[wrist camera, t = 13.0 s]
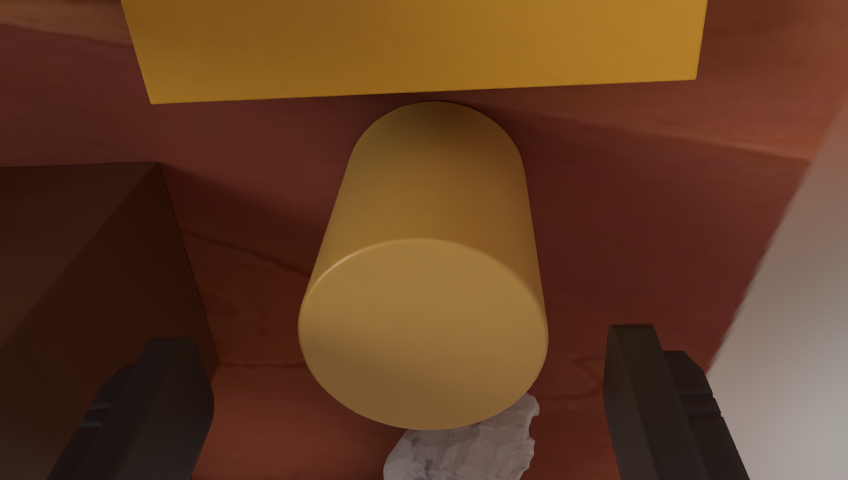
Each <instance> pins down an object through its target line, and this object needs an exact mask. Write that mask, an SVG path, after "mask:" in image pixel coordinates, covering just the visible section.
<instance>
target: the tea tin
mask: <svg viewBox="0 0 848 480" xmlns="http://www.w3.org/2000/svg"><path fill="white" fill-rule="evenodd" d="M298 337H299V344H300V347H301V351H302V354H303V357H304V360H305V362H306V364H307V366H308V368H309V370H310V371H311V373H312V374H313V376H314V377H315V379H316V380H317V382H318V383H319V384H320V385H321V386H322V387H323V388H324V389H325V391H327V392H328V393H329V394H330V395H331V396H332V397H333V398H334V399H336V400H337V401H338V402H340V403H341V404H343V405H344V406H346V407H347V408H349V409H351V410H352V411H354V412H356V413H358V414H360V415H362V416H364V417H367V418H369V419H371V420H374V421H377V422H380V423H383V424H387V425H391V426H395V427H400V428H407V429H415V430H443V429H451V428H458V427H462V426H467V425H471V424H474V423H477V422H480V421H483V420H486V419H488V418H490V417H492V416H494V415H496V414H498V413H500V412H502V411H503V410H505V409H506V408H508V407H510V406H511V405H512V404H514V403H515V402H516V401H517V400H518V399H520V398H521V397H522V396H523V395H524V394H525V393H526V392H527V390H528V389H529V388H530V387H531V386H532V384H533V383H534V381H535V380H536V378H537V377H538V375H539V373H540V371H541V369H542V367H543V364H544V361H545V358H546V354H547V349H548V341H549V340H548V325H547V318H546V312H545V305H544V298H543V291H542V285H541V278H540V271H539V264H538V257H537V251H536V244H535V237H534V230H533V224H532V217H531V210H530V203H529V197H528V190H527V183H526V176H525V171H524V166H523V162H522V159H521V156H520V154H519V151H518V149H517V148H516V146H515V144H514V142H513V141H512V139H511V138H510V137H509V135H508V134H507V133H506V132H505V131H504V130H503V129H502V128H501V127H500V126H499V125H498V124H497V123H495V122H494V121H493V120H492V119H490V118H489V117H487V116H485V115H484V114H482V113H480V112H478V111H476V110H474V109H471V108H469V107H466V106H463V105H459V104H455V103H449V102H436V101H429V102H420V103H414V104H410V105H406V106H403V107H400V108H398V109H395V110H393V111H391V112H389V113H387V114H385V115H384V116H382V117H381V118H379V119H378V120H377V121H375V122H374V123H373V124H372V125H371V126H370V127H369V128H368V129H367V130H366V131H365V132H364V133H363V135H362V136H361V137H360V138H359V140H358V142H357V143H356V145H355V147H354V149H353V151H352V154H351V156H350V159H349V162H348V165H347V168H346V171H345V174H344V177H343V180H342V183H341V187H340V190H339V193H338V196H337V199H336V202H335V205H334V208H333V211H332V214H331V217H330V220H329V223H328V226H327V229H326V232H325V235H324V238H323V241H322V244H321V248H320V251H319V254H318V257H317V260H316V263H315V266H314V269H313V272H312V275H311V278H310V281H309V284H308V287H307V290H306V293H305V296H304V299H303V302H302V305H301V309H300V314H299V319H298Z"/></svg>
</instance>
